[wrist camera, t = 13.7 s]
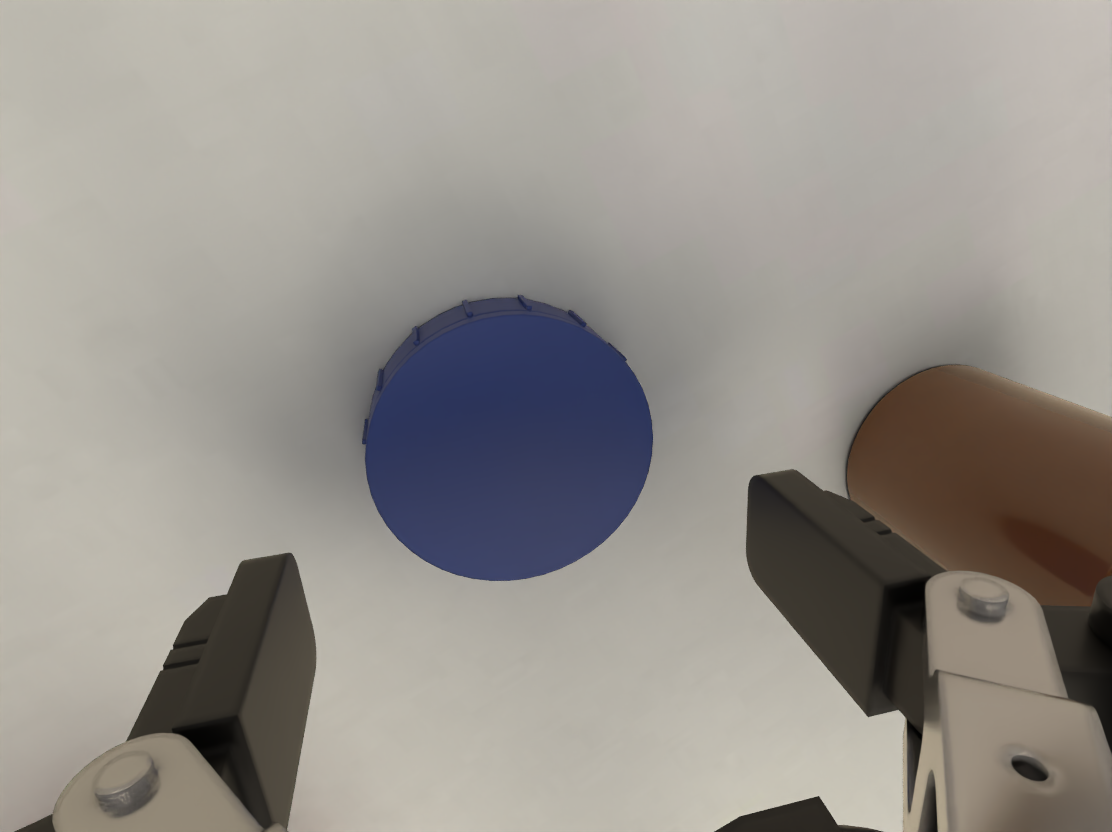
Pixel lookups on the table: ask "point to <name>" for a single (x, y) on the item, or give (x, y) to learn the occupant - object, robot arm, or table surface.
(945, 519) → the jar
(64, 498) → the table surface
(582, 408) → the jar lid
